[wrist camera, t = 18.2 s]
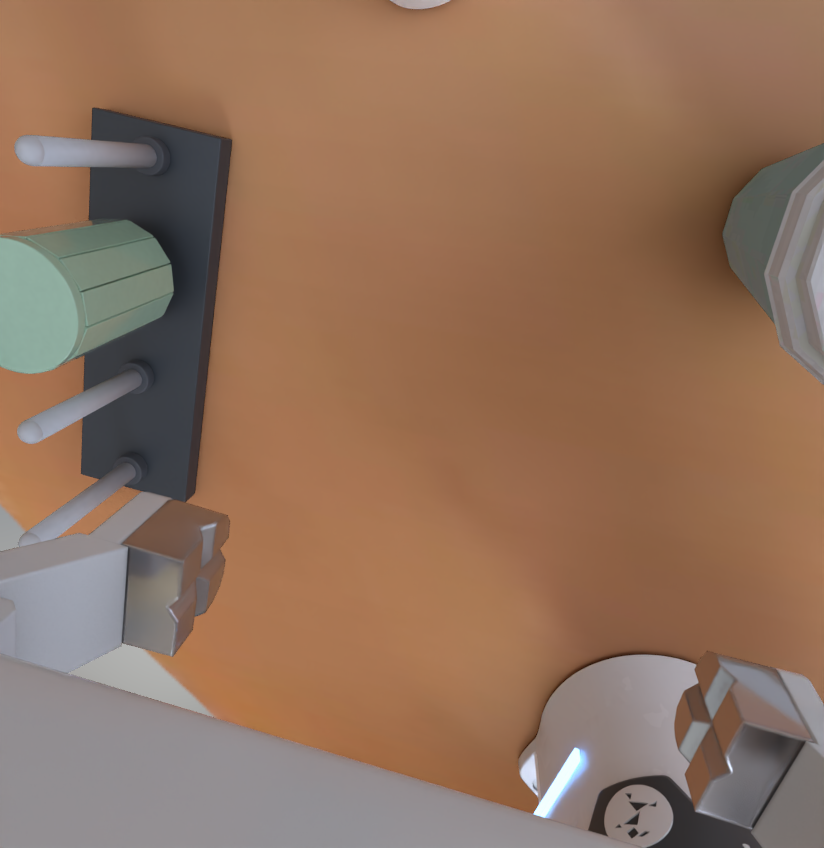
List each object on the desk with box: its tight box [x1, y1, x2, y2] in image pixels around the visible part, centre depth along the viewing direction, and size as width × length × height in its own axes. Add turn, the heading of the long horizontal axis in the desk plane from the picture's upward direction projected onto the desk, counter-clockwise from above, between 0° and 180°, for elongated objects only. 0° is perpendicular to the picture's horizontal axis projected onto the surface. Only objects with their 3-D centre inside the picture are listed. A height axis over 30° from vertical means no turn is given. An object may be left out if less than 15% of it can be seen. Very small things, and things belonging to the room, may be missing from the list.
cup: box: [0, 218, 174, 374], centre depth 33 cm, size 6×6×9 cm
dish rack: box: [14, 108, 232, 547], centre depth 36 cm, size 23×8×12 cm, turn 168°
